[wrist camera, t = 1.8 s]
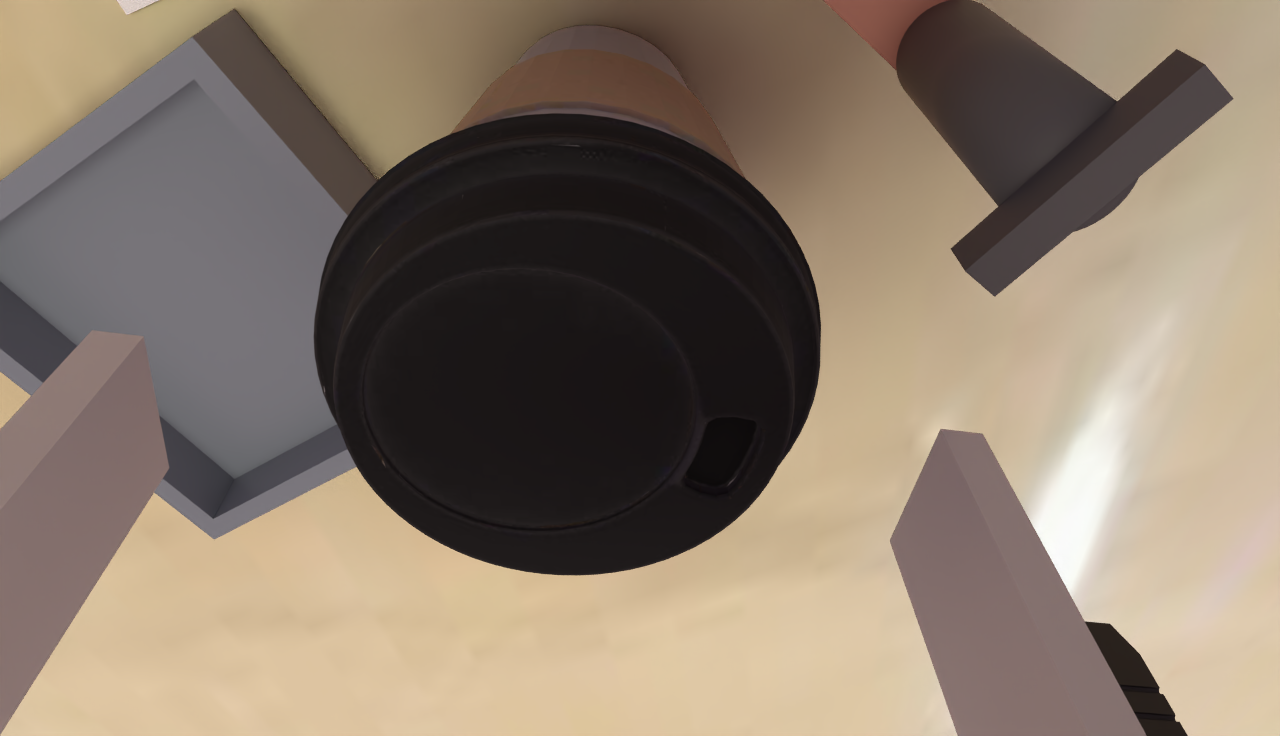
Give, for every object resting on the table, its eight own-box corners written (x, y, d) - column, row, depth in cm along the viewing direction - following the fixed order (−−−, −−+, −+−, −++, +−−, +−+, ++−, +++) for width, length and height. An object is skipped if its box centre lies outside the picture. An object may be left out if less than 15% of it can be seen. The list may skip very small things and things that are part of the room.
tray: (234, 8, 25) (191, 36, 23) (510, 342, 32) (501, 392, 30) (-61, 230, 29) (-124, 274, 27) (242, 485, 36) (214, 539, 33)
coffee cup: (758, 228, 29) (852, 570, 17) (488, 274, 30) (396, 629, 18) (724, -77, 24) (825, 106, 12) (397, -10, 25) (176, 223, 13)
